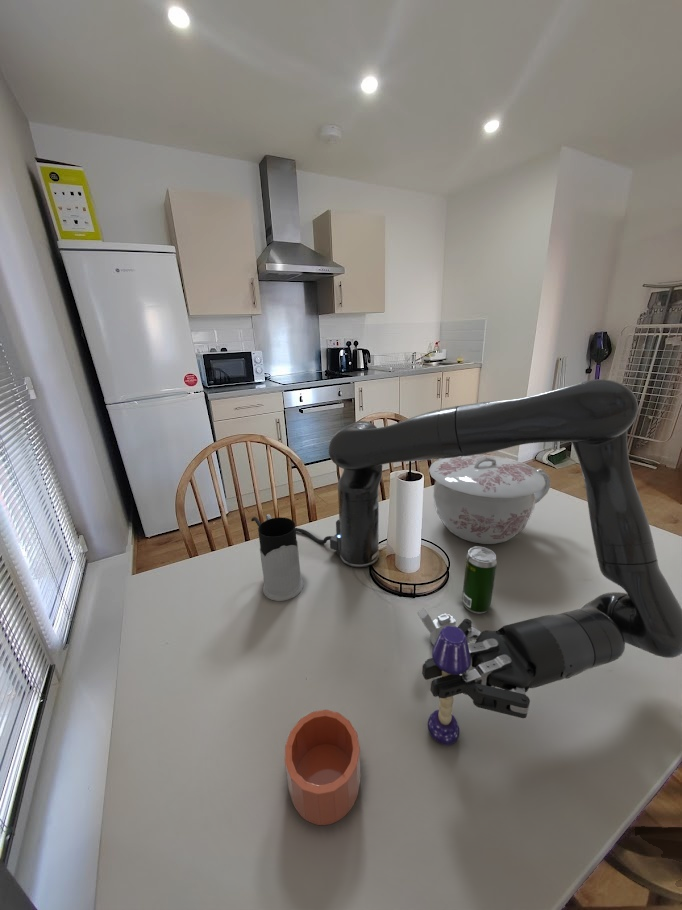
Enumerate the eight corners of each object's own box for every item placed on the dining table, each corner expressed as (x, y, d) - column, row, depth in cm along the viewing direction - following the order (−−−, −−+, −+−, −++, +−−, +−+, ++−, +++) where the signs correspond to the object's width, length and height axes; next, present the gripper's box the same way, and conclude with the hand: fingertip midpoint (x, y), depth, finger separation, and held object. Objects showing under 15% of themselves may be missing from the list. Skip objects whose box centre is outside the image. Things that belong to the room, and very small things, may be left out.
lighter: (448, 632, 65) (451, 597, 62) (454, 639, 63) (458, 604, 60) (414, 645, 62) (416, 609, 60) (420, 653, 61) (422, 616, 58)
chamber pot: (409, 538, 93) (412, 464, 86) (445, 496, 114) (450, 435, 107) (527, 576, 78) (542, 491, 71) (544, 520, 99) (557, 450, 92)
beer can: (478, 619, 67) (485, 567, 63) (455, 602, 71) (460, 552, 67) (496, 607, 70) (503, 556, 66) (473, 591, 74) (478, 542, 70)
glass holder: (268, 606, 72) (259, 543, 67) (254, 566, 84) (246, 510, 79) (308, 592, 75) (304, 531, 70) (289, 556, 88) (284, 501, 82)
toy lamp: (422, 710, 51) (428, 621, 45) (453, 706, 51) (464, 617, 45) (433, 747, 47) (441, 654, 41) (467, 743, 47) (481, 650, 41)
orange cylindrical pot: (274, 788, 44) (269, 757, 42) (320, 726, 50) (318, 696, 48) (330, 846, 39) (327, 814, 37) (373, 769, 45) (373, 738, 43)
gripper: (513, 591, 53) (406, 616, 50) (595, 673, 41) (459, 714, 37) (507, 629, 56) (404, 655, 52) (581, 717, 44) (454, 760, 40)
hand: (428, 680), depth 45 cm, fingers closed on toy lamp
